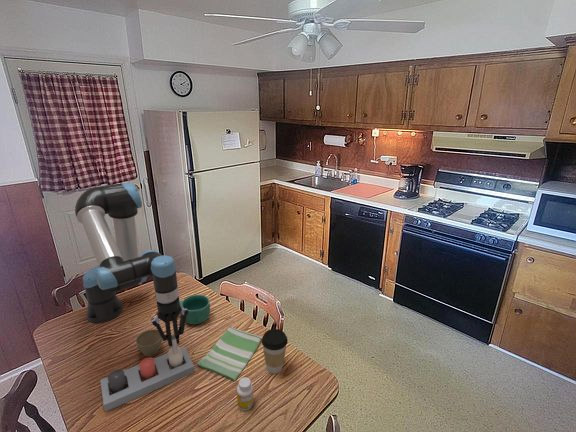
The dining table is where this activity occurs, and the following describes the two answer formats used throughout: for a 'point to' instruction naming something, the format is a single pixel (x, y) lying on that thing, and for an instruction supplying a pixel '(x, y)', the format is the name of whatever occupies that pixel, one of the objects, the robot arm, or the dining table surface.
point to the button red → (147, 368)
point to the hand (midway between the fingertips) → (175, 351)
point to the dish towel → (231, 353)
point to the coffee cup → (274, 349)
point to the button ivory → (175, 358)
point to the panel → (148, 385)
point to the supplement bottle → (245, 394)
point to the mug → (196, 308)
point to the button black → (117, 381)
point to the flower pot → (149, 342)
